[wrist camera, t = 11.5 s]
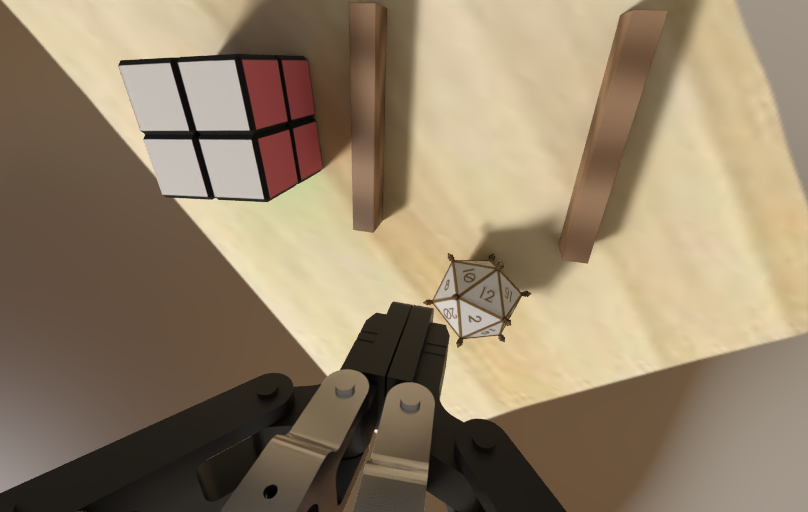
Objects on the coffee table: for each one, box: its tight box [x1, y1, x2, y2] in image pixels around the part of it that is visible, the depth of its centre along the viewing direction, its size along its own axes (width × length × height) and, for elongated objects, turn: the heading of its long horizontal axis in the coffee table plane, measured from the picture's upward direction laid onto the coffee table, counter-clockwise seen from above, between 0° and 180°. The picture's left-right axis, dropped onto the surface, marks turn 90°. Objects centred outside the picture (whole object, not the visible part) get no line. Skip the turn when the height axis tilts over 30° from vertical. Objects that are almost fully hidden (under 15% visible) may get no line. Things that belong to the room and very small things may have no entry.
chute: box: [349, 3, 668, 264], centre depth 31 cm, size 18×21×3 cm
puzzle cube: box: [118, 54, 322, 202], centre depth 31 cm, size 10×10×10 cm
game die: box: [423, 253, 532, 348], centre depth 35 cm, size 9×8×10 cm
